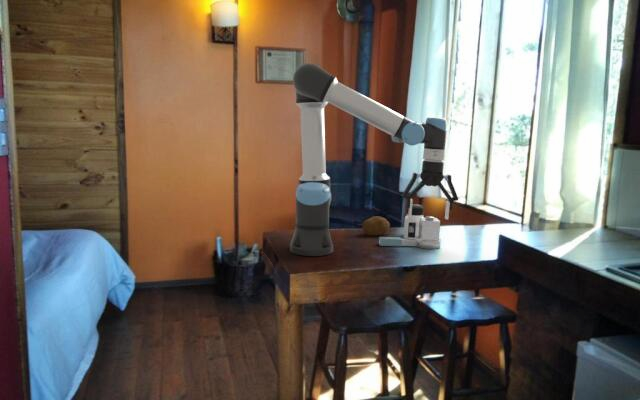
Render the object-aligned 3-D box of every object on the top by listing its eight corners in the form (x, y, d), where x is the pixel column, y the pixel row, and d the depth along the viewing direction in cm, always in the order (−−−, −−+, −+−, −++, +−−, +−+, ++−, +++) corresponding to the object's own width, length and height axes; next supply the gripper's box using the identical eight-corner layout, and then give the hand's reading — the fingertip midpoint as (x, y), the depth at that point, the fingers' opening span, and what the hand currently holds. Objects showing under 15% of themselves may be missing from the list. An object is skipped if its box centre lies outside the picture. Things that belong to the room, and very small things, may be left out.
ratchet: (380, 247, 189) (381, 227, 188) (378, 241, 198) (379, 222, 197) (442, 249, 188) (443, 229, 187) (437, 243, 197) (438, 224, 196)
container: (423, 240, 202) (425, 207, 200) (403, 238, 204) (405, 206, 202) (423, 235, 210) (425, 204, 208) (404, 234, 211) (406, 203, 209)
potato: (357, 234, 209) (358, 215, 208) (381, 231, 216) (382, 213, 214) (369, 238, 202) (370, 219, 201) (394, 235, 209) (395, 216, 208)
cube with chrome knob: (421, 240, 189) (422, 218, 188) (418, 236, 196) (419, 214, 194) (438, 240, 189) (440, 218, 188) (435, 236, 195) (436, 215, 194)
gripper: (400, 159, 184) (395, 217, 188) (470, 163, 184) (464, 221, 187) (397, 157, 192) (393, 213, 195) (464, 161, 191) (459, 217, 195)
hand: (428, 217), depth 191 cm, fingers open, 13 cm apart
